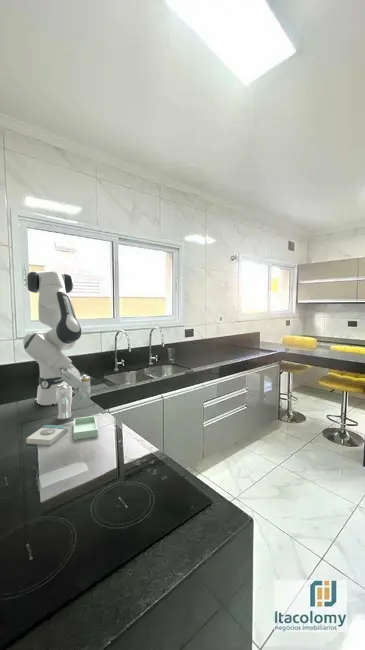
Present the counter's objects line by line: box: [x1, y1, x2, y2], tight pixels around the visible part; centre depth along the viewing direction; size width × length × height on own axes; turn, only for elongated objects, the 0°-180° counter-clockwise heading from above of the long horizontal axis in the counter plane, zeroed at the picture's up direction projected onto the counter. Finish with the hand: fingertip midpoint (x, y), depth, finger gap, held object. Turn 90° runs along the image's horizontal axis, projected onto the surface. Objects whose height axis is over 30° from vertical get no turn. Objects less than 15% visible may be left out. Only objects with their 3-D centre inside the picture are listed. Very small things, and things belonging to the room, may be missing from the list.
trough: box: [72, 415, 99, 441], centre depth 118 cm, size 15×9×3 cm, turn 21°
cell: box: [78, 374, 91, 401], centre depth 117 cm, size 4×4×10 cm
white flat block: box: [25, 424, 68, 446], centre depth 112 cm, size 12×10×2 cm
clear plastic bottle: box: [56, 383, 73, 421], centre depth 132 cm, size 7×7×15 cm
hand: (86, 387), depth 117 cm, fingers closed on cell, 4 cm apart
